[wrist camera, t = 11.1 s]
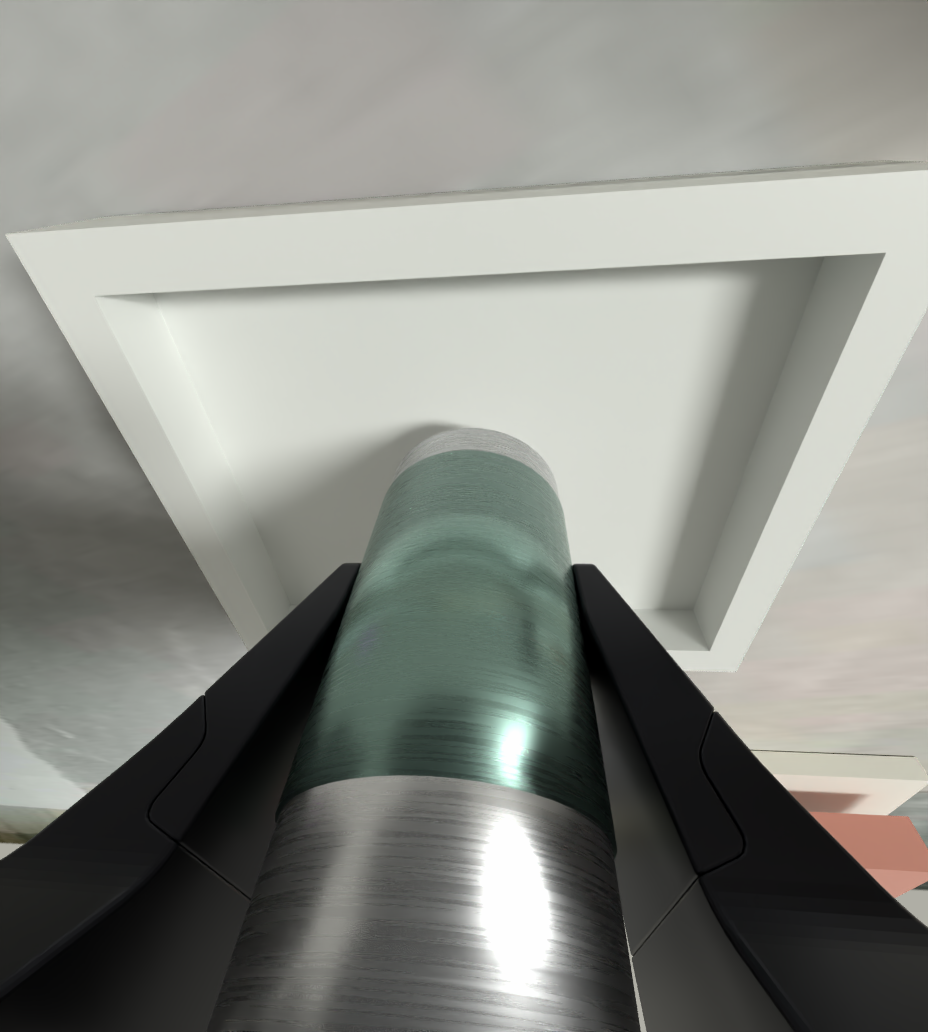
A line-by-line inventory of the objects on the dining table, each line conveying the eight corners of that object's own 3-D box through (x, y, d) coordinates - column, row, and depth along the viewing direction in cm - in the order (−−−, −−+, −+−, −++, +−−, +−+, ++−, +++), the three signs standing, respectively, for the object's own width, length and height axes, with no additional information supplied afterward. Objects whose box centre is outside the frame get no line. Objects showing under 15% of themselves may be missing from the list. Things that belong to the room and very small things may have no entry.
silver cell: (401, 562, 13) (240, 1209, 5) (375, 426, 10) (-41, 1330, 2) (554, 565, 12) (635, 1264, 5) (567, 424, 10) (804, 1474, 2)
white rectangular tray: (282, 601, 17) (253, 660, 15) (106, 216, 10) (5, 234, 8) (707, 606, 16) (735, 672, 14) (884, 160, 8) (1003, 163, 6)
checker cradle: (374, 785, 27) (362, 845, 25) (323, 665, 19) (297, 735, 17) (854, 809, 24) (891, 879, 22) (1004, 682, 17) (1083, 767, 15)
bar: (612, 830, 23) (620, 879, 22) (623, 802, 21) (633, 854, 20) (868, 844, 22) (895, 897, 21) (907, 816, 20) (942, 872, 18)
